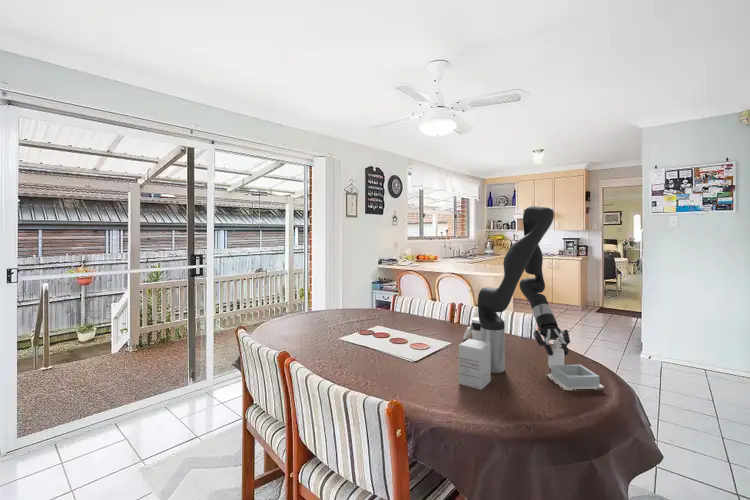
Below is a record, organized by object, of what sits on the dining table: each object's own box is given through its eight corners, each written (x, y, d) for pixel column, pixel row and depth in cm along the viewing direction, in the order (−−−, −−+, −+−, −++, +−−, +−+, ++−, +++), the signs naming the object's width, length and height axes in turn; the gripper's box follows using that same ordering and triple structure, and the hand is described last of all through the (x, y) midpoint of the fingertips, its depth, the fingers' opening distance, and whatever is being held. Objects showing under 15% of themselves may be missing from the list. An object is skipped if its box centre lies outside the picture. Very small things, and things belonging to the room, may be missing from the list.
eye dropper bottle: (561, 371, 144) (562, 341, 143) (546, 367, 148) (547, 338, 147) (565, 368, 147) (566, 338, 146) (550, 364, 151) (551, 335, 150)
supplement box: (468, 375, 143) (468, 338, 142) (491, 381, 138) (491, 342, 137) (458, 383, 136) (457, 344, 135) (481, 390, 131) (481, 349, 130)
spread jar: (489, 345, 179) (489, 321, 178) (466, 345, 179) (466, 321, 179) (483, 337, 191) (483, 315, 190) (461, 337, 191) (461, 315, 191)
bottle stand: (564, 390, 129) (564, 378, 129) (547, 376, 141) (547, 365, 141) (603, 389, 129) (603, 376, 129) (583, 375, 141) (583, 363, 141)
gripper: (530, 313, 153) (544, 350, 142) (564, 312, 154) (581, 350, 142) (524, 322, 159) (537, 359, 148) (557, 321, 159) (572, 358, 148)
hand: (558, 354), depth 145 cm, fingers closed on eye dropper bottle, 5 cm apart
